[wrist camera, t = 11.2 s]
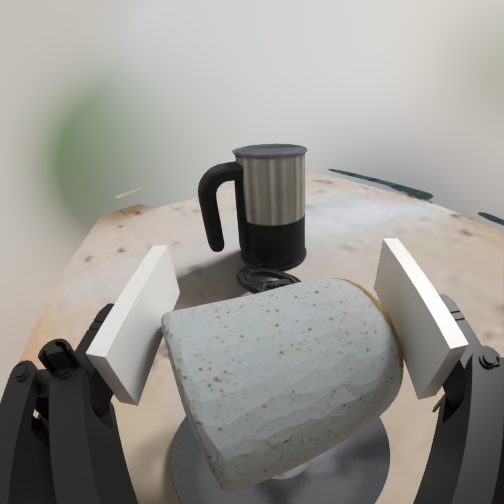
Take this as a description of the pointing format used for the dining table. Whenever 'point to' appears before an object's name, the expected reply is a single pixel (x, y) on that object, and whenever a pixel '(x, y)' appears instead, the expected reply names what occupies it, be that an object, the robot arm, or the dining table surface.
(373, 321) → the ceramic mug
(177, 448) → the plate
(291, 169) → the milk frother
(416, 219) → the dining table surface
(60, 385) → the robot arm
